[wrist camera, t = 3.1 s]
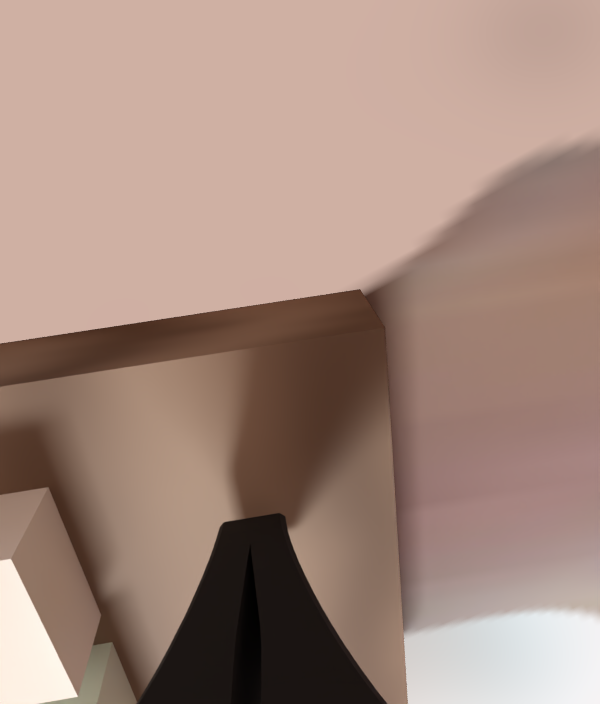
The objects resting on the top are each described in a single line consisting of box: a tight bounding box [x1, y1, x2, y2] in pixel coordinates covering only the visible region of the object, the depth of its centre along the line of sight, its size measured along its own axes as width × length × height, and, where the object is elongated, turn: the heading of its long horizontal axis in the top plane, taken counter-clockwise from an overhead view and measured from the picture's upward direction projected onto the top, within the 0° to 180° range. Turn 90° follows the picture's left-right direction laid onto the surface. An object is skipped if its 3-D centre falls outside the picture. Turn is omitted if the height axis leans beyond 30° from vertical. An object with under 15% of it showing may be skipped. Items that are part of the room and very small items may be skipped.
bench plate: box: [0, 289, 408, 704], centre depth 14 cm, size 14×14×2 cm
